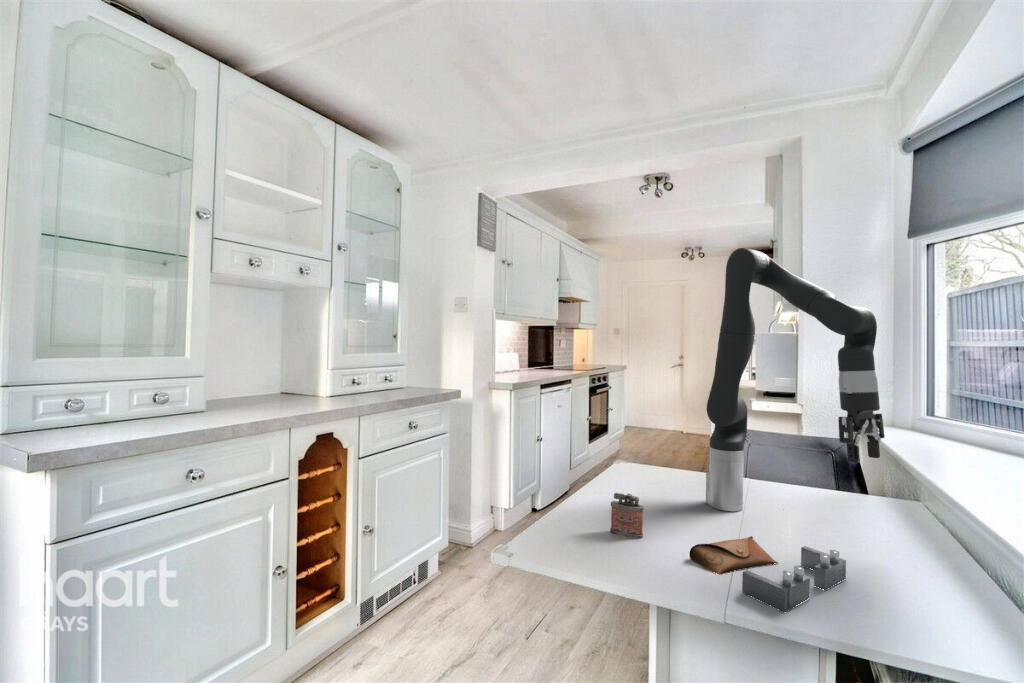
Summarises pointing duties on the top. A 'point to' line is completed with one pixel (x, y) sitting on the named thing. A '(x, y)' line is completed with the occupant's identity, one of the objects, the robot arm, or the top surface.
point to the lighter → (627, 516)
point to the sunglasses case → (730, 555)
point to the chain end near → (778, 589)
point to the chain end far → (824, 566)
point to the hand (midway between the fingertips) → (864, 459)
